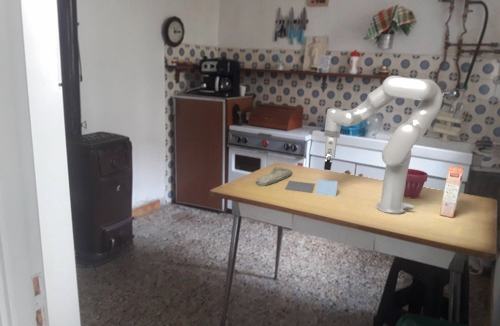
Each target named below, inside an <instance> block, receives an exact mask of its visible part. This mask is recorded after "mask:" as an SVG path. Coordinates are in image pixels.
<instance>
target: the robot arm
mask: <svg viewBox="0 0 500 326" xmlns="http://www.w3.org/2000/svg"><path fill="white" fill-rule="evenodd" d="M398 98H400V99H406V100H414V101H419V103H418V105H417V107H416V108H415V109H414V111H413V112H412V114H411V115H410V117H409V118H408V119H407V121H406V122H404V123H402V124H400V125H399V126H398V127H397V128H396V129H395V131H394V132H393V134H392V135H391V137H390V138H389V140H388V141H387V143H386V145H385V146H384V147H383V150H382V153H381V159H382V161H383V163H384V164H385V168H384V175H383V176H384V177H383V183H382V190H381V197H380V202H378V203H377V204H376V206H375V207H376V209H378V211H380V212H384V213H387V214H392V215H393V214H394V215H401V214H404V213H405V212H406V209H409V210H414V204H411V203H409V202H408V203H407V202H404V198H405V197H404V191H405V185H406V179H407V173H408V169H409V166H410V163H411V159H412V158H411V157H412V149H413V147H414V146H415V144H417V143H418V142H419V141H420V140H422V138H423V136H424V135H425V133H426V132H427V130H428V129H429V127H430V126H431V124H432V122H433V121H434V119H435V118H436V116H437V115H438V113H439V111H440V110H441V107H442V104H443V93H442V90H441V88H440V86H439V85H438V83H436V82H435V81H434V80H431V79H427V78H424V79H423V78H413V77H405V76H404V77H403V76H400V75H390V76H387V77H386V78H385V79H384V80H383V82H382V84H381V85H380V86H378V87H377V88H376V89H374V90H372V91H371V92H369V93H368V94H367V96H366V99H365V100H364V101H363V102H361V104H359V105H357V106H356V107H355V108H353V109H349V110H348V109H347V110H343V109H340V108H334V107H330V108H328V109H327V110H326V117H325V124H324V125H325V126H324V131H323V137H325V147H324V157H325V161H324V166H323V169H324V171H331V169H332V164H333V159H335V158H336V152H337V146H338V145H337V144H338V139H340V135H341V128H342V126H343V127H345V128H346V127H348V128H349V127H353V126H356V125H358V124H361V123H362V122H363V121H365V120H367V119H368V118H369V117H371V116H373V115H374V114H375V113H377V112H379V111H380V110H381V109H382V108H383V107H386V106H387V105H388V104H389V103H392V102H393V101H394V100H396V99H398Z"/></svg>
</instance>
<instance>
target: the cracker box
mask: <svg viewBox="0 0 500 326" xmlns="http://www.w3.org/2000/svg"><path fill="white" fill-rule="evenodd" d="M464 170H465V168H464V167H462V166H455V165H450V166H449V169H448V170H447V174H446V175H447V176H446V180H445V186H444V189H443V195H442V201H441V206H440V212H439V216H443V217H447V218H452V219H453V218H454V216H455V213H456V209H457V205H458V200H459V197H460V192H461V187H462V181H463V177H464V172H465V171H464Z"/></svg>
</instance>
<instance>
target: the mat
mask: <svg viewBox="0 0 500 326" xmlns="http://www.w3.org/2000/svg"><path fill="white" fill-rule="evenodd" d="M315 185H316V183H313V182H311V183H310V182H303V181H295V180H289V181H288V183H287V184H286V186H285V189H284V190H287V191H295V192H302V193H303V192H304V193H313V191H314V188H315Z"/></svg>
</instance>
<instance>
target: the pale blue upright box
mask: <svg viewBox="0 0 500 326" xmlns="http://www.w3.org/2000/svg"><path fill="white" fill-rule="evenodd" d="M337 190H338V180H332V179H321V178H317V180H316V190H315V195H322V196H331V197H337V192H338V191H337Z"/></svg>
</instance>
